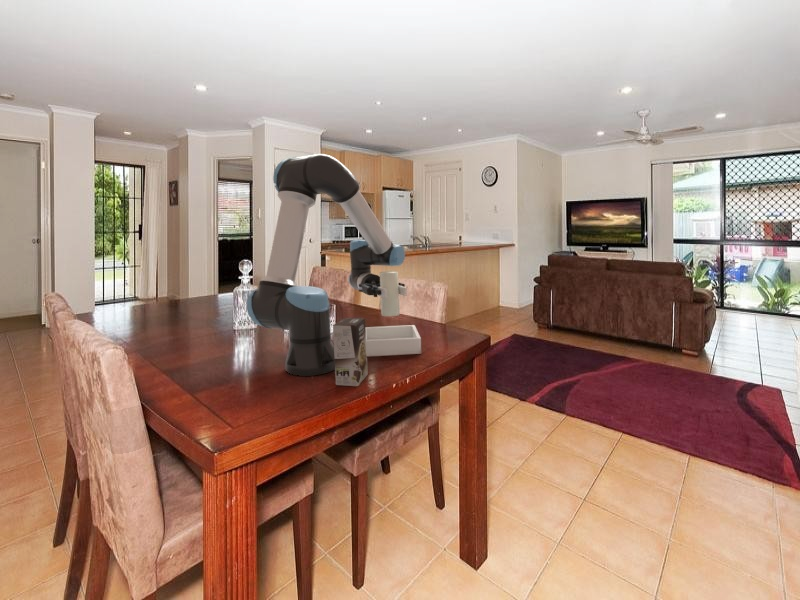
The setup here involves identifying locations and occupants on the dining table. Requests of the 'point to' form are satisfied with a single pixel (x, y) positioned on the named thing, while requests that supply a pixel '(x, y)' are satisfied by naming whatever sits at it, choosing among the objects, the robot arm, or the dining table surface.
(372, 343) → the tote
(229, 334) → the dining table surface
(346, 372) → the coffee box
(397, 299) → the canister
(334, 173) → the robot arm
